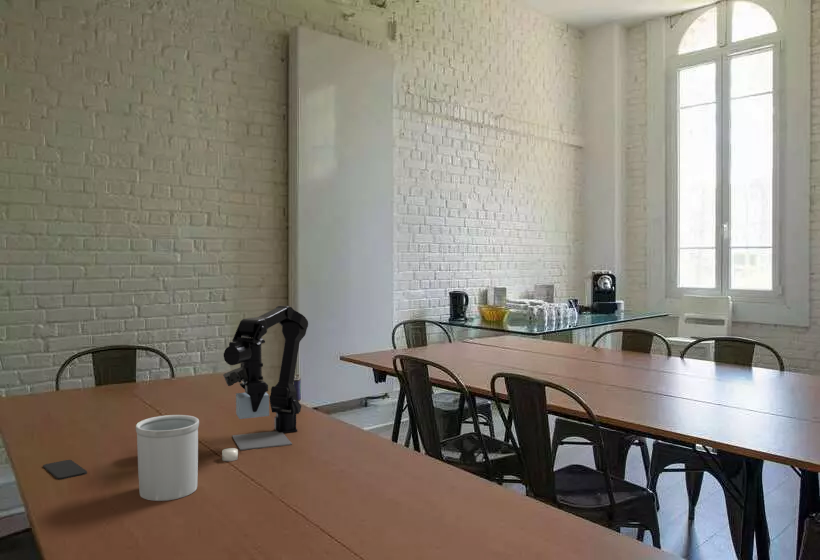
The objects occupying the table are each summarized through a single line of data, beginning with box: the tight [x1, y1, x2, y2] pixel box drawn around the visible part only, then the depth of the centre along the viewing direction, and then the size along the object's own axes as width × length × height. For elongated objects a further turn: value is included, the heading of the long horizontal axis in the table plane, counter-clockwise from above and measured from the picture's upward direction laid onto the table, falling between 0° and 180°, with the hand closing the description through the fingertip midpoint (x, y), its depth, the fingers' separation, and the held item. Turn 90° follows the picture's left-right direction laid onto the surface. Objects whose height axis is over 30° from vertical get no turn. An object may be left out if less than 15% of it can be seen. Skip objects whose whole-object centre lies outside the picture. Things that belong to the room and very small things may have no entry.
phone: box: [42, 459, 88, 481], centre depth 174 cm, size 7×1×15 cm
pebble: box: [221, 447, 239, 462], centre depth 185 cm, size 4×4×2 cm
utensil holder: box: [135, 414, 200, 502], centre depth 159 cm, size 15×15×18 cm
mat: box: [231, 430, 293, 451], centre depth 204 cm, size 16×16×1 cm
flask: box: [293, 373, 302, 402], centre depth 263 cm, size 9×3×11 cm, turn 8°
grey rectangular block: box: [235, 391, 270, 420], centre depth 197 cm, size 9×6×6 cm
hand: (252, 409), depth 198 cm, fingers closed on grey rectangular block, 6 cm apart
